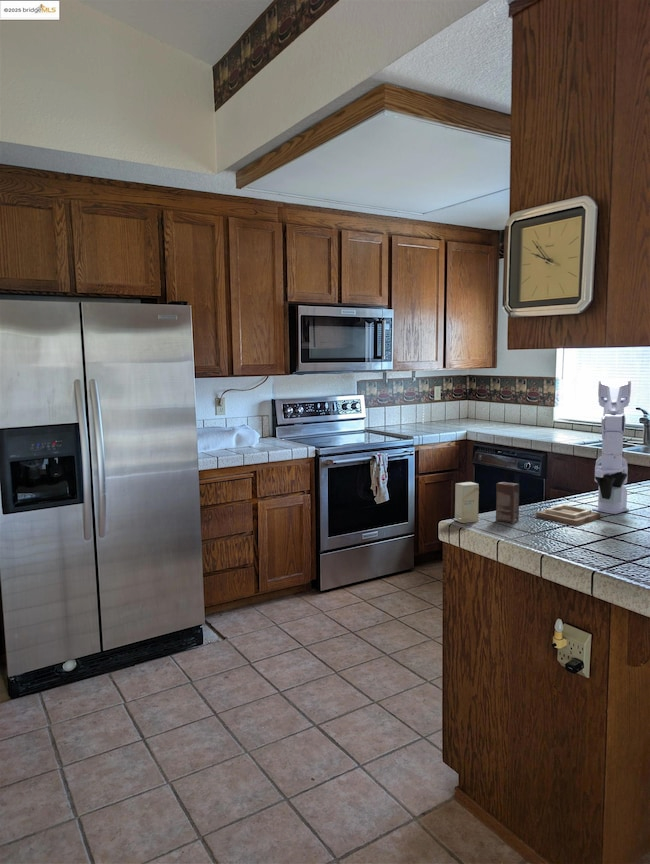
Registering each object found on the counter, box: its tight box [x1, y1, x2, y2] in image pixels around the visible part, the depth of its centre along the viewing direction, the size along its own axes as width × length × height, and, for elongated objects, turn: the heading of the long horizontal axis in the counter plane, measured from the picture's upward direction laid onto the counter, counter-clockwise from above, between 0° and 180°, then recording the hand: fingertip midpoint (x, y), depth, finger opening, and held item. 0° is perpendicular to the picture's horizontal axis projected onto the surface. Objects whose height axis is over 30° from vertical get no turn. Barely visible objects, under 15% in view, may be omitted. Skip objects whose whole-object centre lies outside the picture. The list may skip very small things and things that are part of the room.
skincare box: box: [454, 481, 480, 524], centre depth 193 cm, size 6×4×12 cm
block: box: [599, 486, 622, 505], centre depth 187 cm, size 4×4×4 cm
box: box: [495, 481, 520, 524], centre depth 193 cm, size 6×4×12 cm
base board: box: [535, 504, 602, 526], centre depth 196 cm, size 14×14×2 cm
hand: (610, 497), depth 188 cm, fingers closed on block, 4 cm apart
